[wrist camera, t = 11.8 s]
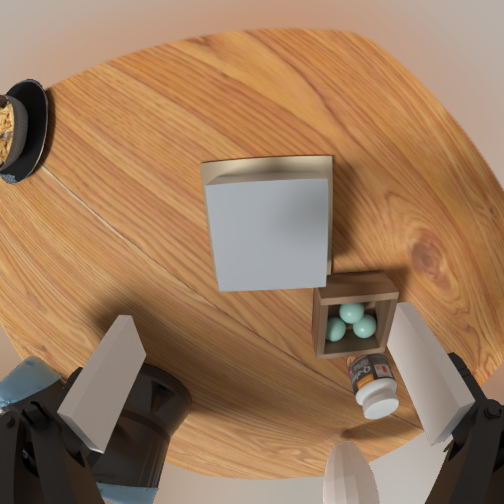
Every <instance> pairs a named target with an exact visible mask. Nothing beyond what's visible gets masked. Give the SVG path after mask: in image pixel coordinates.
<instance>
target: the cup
mask: <svg viewBox="0 0 504 504" xmlns="http://www.w3.org/2000/svg"><path fill="white" fill-rule="evenodd" d="M323 504H379V495H378V490H377V487H376V482H375V478H374V475H373V473H372V470H371V468H370V466H369V464H368V462H367V460H366V458H365V457H364V455H363V453H362V452H361V450H360V449H359V448H358V447H357V445H356V444H355V443H354V442H353V441H343V442H339V443H337V444H335V445H333V447H332V448H331V451H330V454H329V457H328V461H327V465H326V469H325V476H324V483H323Z"/></svg>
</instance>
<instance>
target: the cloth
mask: <svg viewBox="0 0 504 504" xmlns="http://www.w3.org/2000/svg"><path fill="white" fill-rule="evenodd" d="M200 170H201V179H202V187H203V195H204V204H205V211H206V219H207V227H208V234H209V241H210V248H211V255H212V262H213V269H214V275H215V280H218V279H217V272H216V265H215V258H214V251H213V244H212V237H211V229H210V222H209V214H208V206H207V197H206V189H205V185H206V184H208V183H209V182H210V181H211V180H213V179H214V178H215V177H219V176H230V175H243V174H258V173H275V172H299V171H318V172H320V173H321V174H322V175H324V176H325V177H326V178H328V249H327V274H326V275H331V257H332V225H333V173H332V156H285V157H265V158H250V159H237V160H226V161H215V162H206V163H200Z"/></svg>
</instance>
